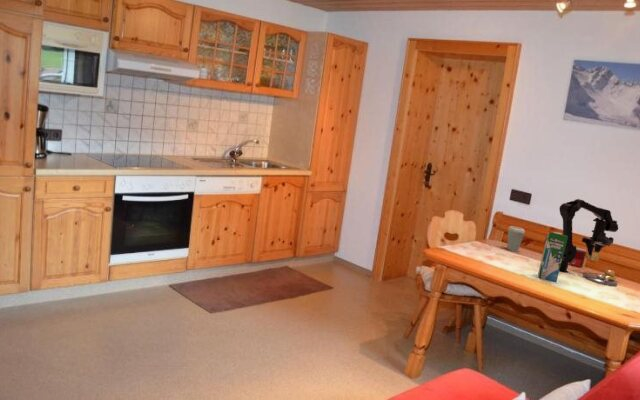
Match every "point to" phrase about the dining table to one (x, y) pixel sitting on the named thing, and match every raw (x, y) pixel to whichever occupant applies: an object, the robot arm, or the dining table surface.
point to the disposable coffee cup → (514, 237)
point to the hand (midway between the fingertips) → (592, 255)
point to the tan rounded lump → (593, 256)
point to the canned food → (578, 258)
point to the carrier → (602, 278)
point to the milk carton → (552, 256)
